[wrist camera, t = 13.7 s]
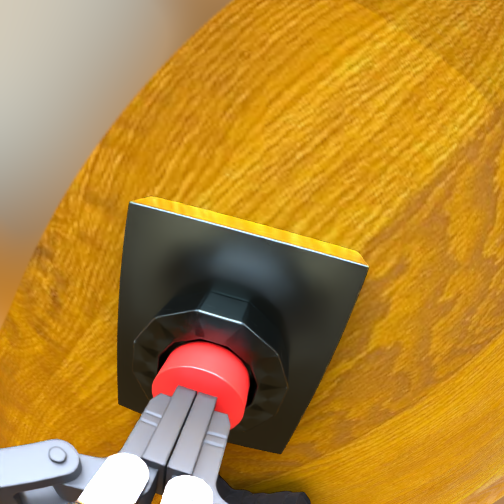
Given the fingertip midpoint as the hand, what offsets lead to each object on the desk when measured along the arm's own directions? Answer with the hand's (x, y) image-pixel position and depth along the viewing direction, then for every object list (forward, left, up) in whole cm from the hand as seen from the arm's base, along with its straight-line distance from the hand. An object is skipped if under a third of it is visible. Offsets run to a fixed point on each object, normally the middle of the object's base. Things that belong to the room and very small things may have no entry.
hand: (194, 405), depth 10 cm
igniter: (0, 0, -6) cm, 6 cm away
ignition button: (0, 0, -2) cm, 2 cm away
